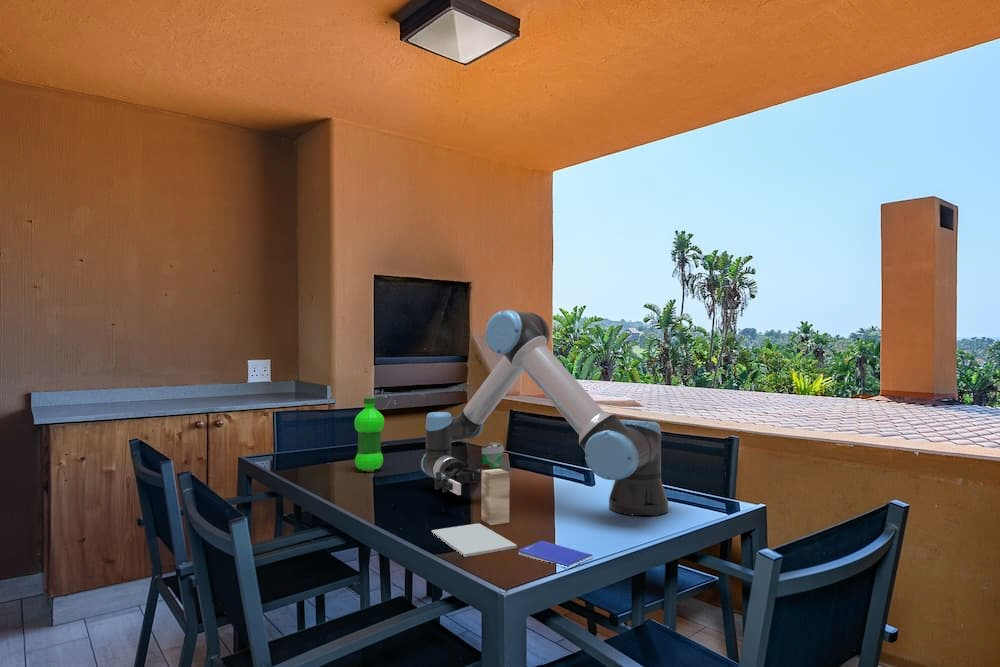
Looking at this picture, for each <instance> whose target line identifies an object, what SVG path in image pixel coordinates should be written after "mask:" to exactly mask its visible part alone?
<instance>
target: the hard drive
mask: <svg viewBox="0 0 1000 667" xmlns="http://www.w3.org/2000/svg"><path fill="white" fill-rule="evenodd" d="M518 556H521V557H525V558H528V557H529V559H532V560H535V559H536V560H535V561H538V560H541V561H540V562H542V561H545V562H551V563H556V564H560V565H564V566H567V567H569V566H571V565H573V564H575V563H578V562H580V561H583V560H585V559H587V558H590V557H592V558H593V554H591V553H587V552H584V551H579V550H577V549H573V548H570V547H565V546H562V545H559V544H555V543H551V542H548V541H545V540H540V541H538V542H535V543H533V544H530V545H527V546H524V547H522V548H520V549H519V550H518ZM545 562H544V563H545Z"/></svg>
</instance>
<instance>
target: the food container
mask: <svg viewBox="0 0 1000 667" xmlns="http://www.w3.org/2000/svg"><path fill="white" fill-rule="evenodd" d="M504 452H505V449H504V446H503V444H502V443H499V442H489V445H488V446H487V445H486V446H485V447H481V459H482V460H481V461H482V462H481V466H482V467H481V469H485V470H491V469H502V461H503V460H502V459H503V453H504Z"/></svg>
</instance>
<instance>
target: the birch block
mask: <svg viewBox="0 0 1000 667" xmlns="http://www.w3.org/2000/svg"><path fill="white" fill-rule="evenodd" d="M509 478H510V471H507V470H504V469H502V468H501V469H491V470H482V482H481V510H480V511H481V521H483V522H484V523H486V524H488V525H489V526H494V525H500V524H502V525H503V524H507V523H510V489H509Z"/></svg>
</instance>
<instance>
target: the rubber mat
mask: <svg viewBox="0 0 1000 667" xmlns="http://www.w3.org/2000/svg"><path fill="white" fill-rule="evenodd" d="M431 532H432V533H433V534H432V533H431V534H432V535H434V534H435V535H436V536H437V537H436V536H435V535H434V536H435V537H436V538H438V539H439V538H440V539H441V540H440V539H439V540H440V541H442V542H443V543H444V542H445V543H444V544H446V545H448V546H449V547H450V548H451V549H453V551H455V550H456V551H455V552H457V553H458V552H459V553H458V554H459V555H461V556H462V555H463V557H464V558H469V557H473V556H480V555H485V554H489V553H497V552H502V551H508V550H513V549H517V548H518V545H517V544H516V543H514V542H512V541H511V540H509V539H507V538H505V537H504V536H502V535H500V534H498V533H497V532H495V531H494V530H492V529H489V527H487V526H484V525H483V524H481V523H480V522H479V523H473V524H472V523H471V524H466V525H465V524H464V525H457V526H451V527H445V528H444V527H443V528H439V529H438V528H437V529H432V530H431ZM468 556H469V557H468Z"/></svg>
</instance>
